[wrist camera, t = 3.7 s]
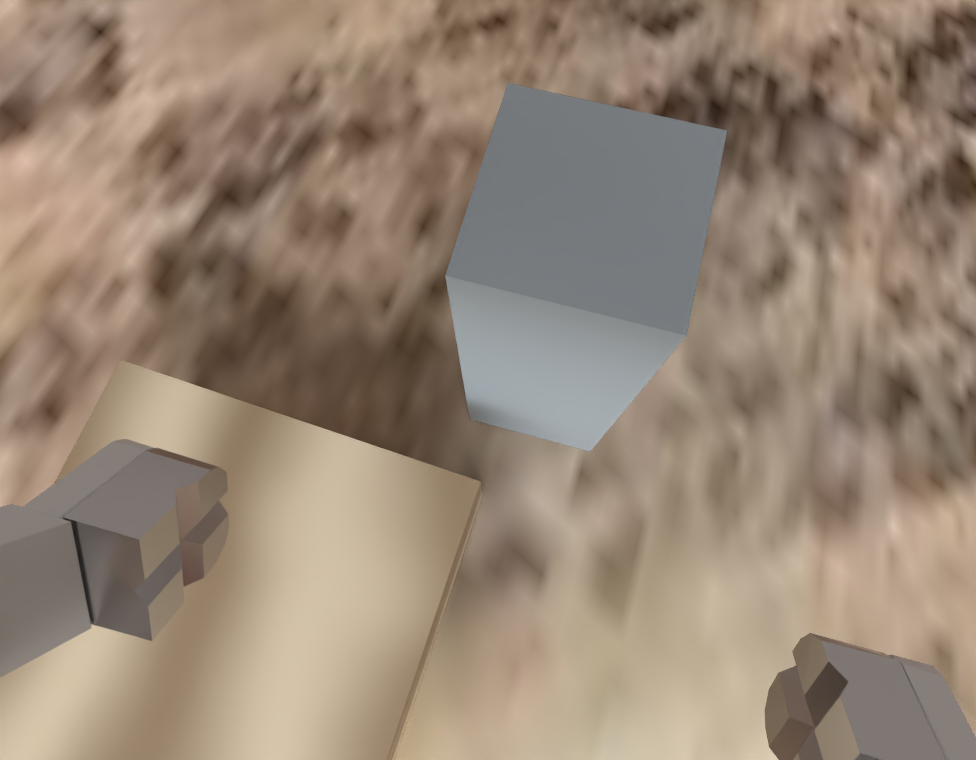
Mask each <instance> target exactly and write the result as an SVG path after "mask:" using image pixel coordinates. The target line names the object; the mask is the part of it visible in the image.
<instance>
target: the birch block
mask: <svg viewBox="0 0 976 760" xmlns="http://www.w3.org/2000/svg"><path fill="white" fill-rule="evenodd" d="M120 439H128V440H131V441H135V442H138V443H141V444H144V445H147V446H150V447H153V448H160V449H163V450H166V451H169V452H173V453H176V454H179V455H182V456H186V457H189V458H192V459H195V460H199V461H202V462H205V463H208V464H212V465H215V466H218V467H220V468H222V469H223V470H224V471H226V472H227V485H228V491H227V492H226V493H225V494H224V495H223V496H222V497H221V499H220V500H219V501H220V503H221V504H222V505H223V507H224V508H225V510H226V511H227V513H228V514H229V529H228V534H227V539H226V543H225V545H224V547H223V549H222V552H221V554H220V556H219V558H218V560H217V562H216V563H215V565H214V566H213V567H212V569H211V570H210V571H209V572H208V574H207V575H206V576H205V577H204V578H203V579H201V580H198V581H196V582H194V583H191V584H189V585H187V586H185V587H184V603H183V604H182V606H181V607H180V608H179V609H178V611H177V612H176V613H175V614H174V615H173V617H172V618H171V619H170V620H169V621H168V623H167V624H166V625H165V626H164V628H163V629H162V630H161V631H160V632H159V634H158V635H157V636H156V637H155V638H154V640H153V641H150V640H146V639H143V638H139V637H135V636H132V635H128V634H125V633H121V632H117V631H114V630H110V629H107V628H103V627H99V626H96V625H92V624H91V626H92V627H91V629H89V630H87V631H85V632H84V633H82V634H80V635H78V636H76V637H74V638H73V639H71V640H69V641H67V642H65V643H63V644H62V645H60V646H58V647H56V648H54V649H52V650H50V651H49V652H47V653H45V654H43V655H41V656H39V657H38V658H36V659H34V660H32V661H30V662H28V663H27V664H25V665H23V666H21V667H19V668H17V669H15V670H14V671H12V672H10V673H8V674H6V675H4V676H3V677H1V678H0V760H395V758H396V755H397V752H398V749H399V746H400V743H401V740H402V737H403V734H404V731H405V728H406V725H407V722H408V719H409V716H410V713H411V710H412V707H413V704H414V701H415V698H416V695H417V692H418V689H419V686H420V683H421V680H422V677H423V674H424V671H425V668H426V665H427V662H428V659H429V656H430V653H431V650H432V647H433V644H434V641H435V638H436V635H437V632H438V629H439V626H440V623H441V620H442V618H443V615H444V612H445V609H446V606H447V603H448V600H449V597H450V594H451V591H452V588H453V585H454V582H455V579H456V576H457V573H458V570H459V567H460V564H461V561H462V558H463V555H464V552H465V549H466V546H467V543H468V540H469V537H470V534H471V531H472V528H473V525H474V522H475V519H476V516H477V513H478V510H479V507H480V504H481V501H482V498H483V495H482V488H481V481H478V480H475V479H472V478H469V477H466V476H463V475H460V474H457V473H454V472H451V471H448V470H445V469H442V468H439V467H436V466H433V465H430V464H427V463H424V462H421V461H419V460H416V459H413V458H410V457H407V456H404V455H401V454H398V453H395V452H392V451H389V450H386V449H383V448H380V447H377V446H374V445H371V444H368V443H365V442H362V441H359V440H356V439H353V438H350V437H347V436H344V435H342V434H339V433H336V432H333V431H330V430H327V429H324V428H321V427H318V426H315V425H312V424H309V423H306V422H303V421H300V420H297V419H294V418H291V417H288V416H285V415H282V414H279V413H276V412H273V411H270V410H267V409H265V408H262V407H259V406H256V405H253V404H250V403H247V402H244V401H241V400H238V399H235V398H232V397H229V396H226V395H223V394H220V393H217V392H214V391H211V390H208V389H205V388H202V387H199V386H196V385H193V384H190V383H188V382H185V381H182V380H179V379H176V378H173V377H170V376H167V375H164V374H161V373H158V372H155V371H152V370H149V369H146V368H143V367H140V366H137V365H134V364H131V363H128V362H125V361H122V360H120V362H119V364H118V365H117V367H116V369H115V371H114V373H113V375H112V377H111V378H110V380H109V382H108V384H107V386H106V388H105V390H104V392H103V393H102V395H101V397H100V399H99V401H98V403H97V405H96V407H95V408H94V410H93V412H92V414H91V416H90V418H89V420H88V422H87V423H86V425H85V427H84V429H83V431H82V433H81V435H80V436H79V438H78V440H77V442H76V444H75V446H74V448H73V450H72V451H71V453H70V455H69V457H68V459H67V461H66V463H65V465H64V466H63V468H62V470H61V472H60V474H59V476H58V478H57V479H56V481H55V483H56V482H57V481H59V480H60V479H62V478H63V477H64V476H66V475H67V474H68V473H70V472H71V471H72V470H74V469H75V468H77V467H78V466H79V465H81V464H82V463H83V462H85V461H86V460H87V459H89V458H90V457H92V456H93V455H94V454H96V453H97V452H98V451H100V450H101V449H102V448H104V447H105V446H107V445H108V444H109V443H111V442H112V441H115V440H120ZM55 483H54V484H55Z"/></svg>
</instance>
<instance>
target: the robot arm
mask: <svg viewBox="0 0 976 760" xmlns="http://www.w3.org/2000/svg"><path fill="white" fill-rule="evenodd" d="M227 491H228V485H227V472H226V471H224V470H223V469H222V468H220V467H218V466H215V465H212V464H208V463H205V462H202V461H199V460H195V459H192V458H189V457H186V456H182V455H179V454H176V453H173V452H169V451H166V450H163V449H160V448H153V447H150V446H147V445H144V444H141V443H138V442H135V441H131V440H128V439H120V440H115V441H112V442H111V443H109V444H108V445H107V446H105V447H104V448H102V449H101V450H100V451H98V452H97V453H96V454H94V455H93V456H92V457H90V458H89V459H87V460H86V461H85V462H83V463H82V464H81V465H79V466H78V467H77V468H75V469H74V470H72V471H71V472H70V473H68V474H67V475H66V476H64V477H63V478H62V479H60V480H59V481H57V482H56V483H55V484H53V485H52V486H51V487H49V488H48V489H47V490H45V491H44V492H42V493H41V494H40V495H38V496H37V497H36V498H34V499H33V500H32V501H30V502H29V503H27V504H26V505H25V506H23V507H20V506H17V505H13V504H11V505H7V506H4V507H0V678H1V677H3V676H4V675H6V674H8V673H10V672H12V671H14V670H15V669H17V668H19V667H21V666H23V665H25V664H27V663H28V662H30V661H32V660H34V659H36V658H38V657H39V656H41V655H43V654H45V653H47V652H49V651H50V650H52V649H54V648H56V647H58V646H60V645H62V644H63V643H65V642H67V641H69V640H71V639H73V638H74V637H76V636H78V635H80V634H82V633H84V632H85V631H87V630H89V629H91V627H92V626H91V624H92V625H96V626H99V627H103V628H107V629H110V630H114V631H117V632H121V633H125V634H128V635H132V636H135V637H139V638H143V639H146V640H150V641H153V640H154V638H155V637H156V636H157V635H158V634H159V632H160V631H161V630H162V629H163V628H164V626H165V625H166V624H167V623H168V621H169V620H170V619H171V618H172V617H173V615H174V614H175V613H176V612H177V611H178V609H179V608H180V607H181V606H182V604H183V603H184V587H185V586H187V585H189V584H191V583H194V582H196V581H198V580H201V579H203V578H204V577H205V576H206V575H207V574H208V572H209V571H210V570H211V569H212V567H213V566H214V565H215V563H216V562H217V560H218V558H219V556H220V554H221V552H222V549H223V547H224V545H225V543H226V539H227V534H228V529H229V514H228V513H227V511H226V510H225V508H224V507H223V505H222V504H221V503H220V501H219V500H220V499H221V497H222V496H223V495H224V494H225V493H226V492H227ZM793 655H794V659H795V662H796V666H794V667H792V668H789V669H787V670H784V671H782V672H780V673H778V675H777V676H776V678H775V680H774V682H773V683H772V685H771V687H770V689H769V692H768V697H767V702H766V707H765V728H766V733H767V738H768V743H769V747H770V749H771V750H772V751H773V753H774V754H775V755H776V757H777V758H778V759H779V760H976V737H975V735H974V733H973V731H972V730H971V728H970V726H969V724H968V722H967V720H966V718H965V716H964V714H963V712H962V710H961V709H960V707H959V705H958V703H957V701H956V699H955V697H954V695H953V693H952V691H951V689H950V688H949V686H948V684H947V682H946V680H945V678H944V677H943V675H942V674H941V673H940V672H939V671H938V670H937V669H936V668H935V667H933V666H931V665H927V664H924V663H920V662H916V661H913V660H909V659H905V658H901V657H898V656H894V655H887V654H885V653H881V652H878V651H874V650H870V649H867V648H863V647H859V646H856V645H852V644H848V643H845V642H841V641H837V640H834V639H830V638H826V637H823V636H819V635H815V634H812V633H810V634H808V635H806V636H804V637H803V638H801V639H800V641H799V642H798V644H797V645H796V647H795V648H794V650H793Z"/></svg>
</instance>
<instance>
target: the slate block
mask: <svg viewBox="0 0 976 760" xmlns="http://www.w3.org/2000/svg"><path fill="white" fill-rule="evenodd" d="M726 134H727V131H726V130H722V129H717V128H712V127H708V126H703V125H699V124H694V123H689V122H685V121H680V120H676V119H671V118H667V117H662V116H657V115H653V114H648V113H644V112H639V111H634V110H630V109H625V108H621V107H616V106H612V105H607V104H602V103H598V102H593V101H589V100H584V99H579V98H575V97H570V96H566V95H561V94H557V93H552V92H547V91H543V90H538V89H534V88H529V87H525V86H520V85H515V84H511V83H508V84H507V87H506V90H505V94H504V97H503V100H502V103H501V106H500V109H499V112H498V115H497V118H496V121H495V124H494V127H493V130H492V134H491V137H490V140H489V143H488V146H487V149H486V152H485V155H484V158H483V161H482V164H481V167H480V170H479V174H478V177H477V180H476V183H475V186H474V189H473V192H472V195H471V198H470V201H469V204H468V207H467V210H466V214H465V217H464V220H463V223H462V226H461V229H460V232H459V235H458V238H457V241H456V244H455V247H454V250H453V254H452V257H451V260H450V263H449V266H448V269H447V272H446V275H445V277H446V283H447V289H448V295H449V301H450V307H451V312H452V318H453V324H454V330H455V336H456V342H457V348H458V354H459V359H460V365H461V371H462V377H463V383H464V389H465V395H466V400H467V406H468V412H469V418H470V419H471V420H474V421H478V422H482V423H486V424H489V425H493V426H497V427H500V428H504V429H508V430H512V431H515V432H519V433H523V434H527V435H530V436H534V437H538V438H541V439H545V440H549V441H553V442H556V443H560V444H564V445H568V446H571V447H575V448H579V449H582V450H586V451H591V450H592V448H593V447H594V446H595V445H596V444H597V443H598V441H599V440H600V439H601V438H602V437H603V435H604V434H605V433H606V432H607V431H608V429H609V428H610V427H611V426H612V425H613V423H614V422H615V421H616V420H617V419H618V417H619V416H620V415H621V414H622V413H623V411H624V410H625V409H626V408H627V407H628V405H629V404H630V403H631V402H632V401H633V399H634V398H635V397H636V396H637V395H638V393H639V392H640V391H641V390H642V389H643V387H644V386H645V385H646V384H647V383H648V381H649V380H650V379H651V378H652V377H653V375H654V374H655V373H656V372H657V371H658V369H659V368H660V367H661V366H662V365H663V363H664V362H665V361H666V360H667V359H668V358H669V356H670V355H671V354H672V353H673V352H674V350H675V349H676V348H677V347H678V346H679V344H680V343H681V342H682V341H683V340H684V338H685V337H686V336H687V332H688V327H689V321H690V316H691V311H692V306H693V301H694V296H695V291H696V286H697V281H698V276H699V271H700V266H701V261H702V255H703V250H704V245H705V240H706V235H707V230H708V225H709V220H710V215H711V210H712V205H713V200H714V195H715V190H716V184H717V179H718V174H719V169H720V164H721V159H722V154H723V149H724V144H725V139H726Z"/></svg>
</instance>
